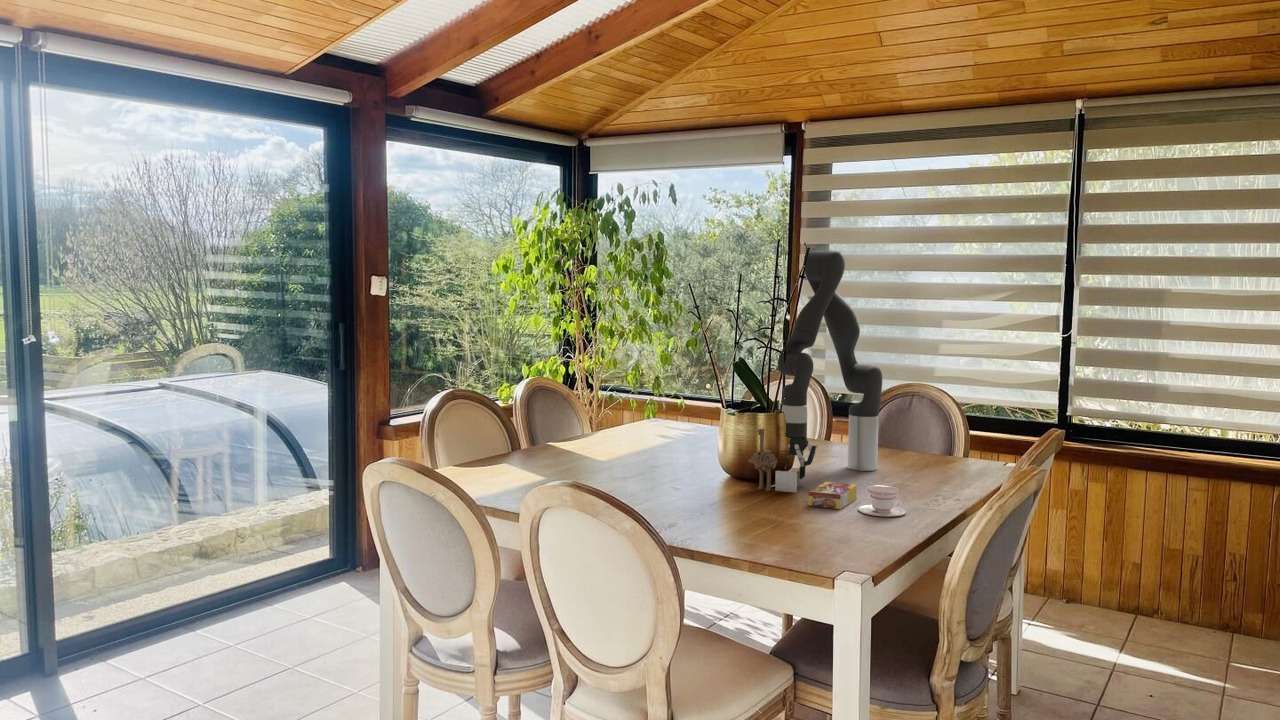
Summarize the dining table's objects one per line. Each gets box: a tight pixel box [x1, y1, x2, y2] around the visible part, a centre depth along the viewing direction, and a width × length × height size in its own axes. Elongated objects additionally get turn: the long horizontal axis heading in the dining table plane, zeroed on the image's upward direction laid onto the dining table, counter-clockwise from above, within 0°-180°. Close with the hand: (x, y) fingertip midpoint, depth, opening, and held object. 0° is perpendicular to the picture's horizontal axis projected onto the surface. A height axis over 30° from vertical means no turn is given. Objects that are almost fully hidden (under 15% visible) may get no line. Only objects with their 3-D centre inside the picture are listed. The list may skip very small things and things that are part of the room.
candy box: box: [808, 481, 858, 510], centre depth 247 cm, size 9×4×15 cm
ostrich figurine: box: [747, 428, 779, 492], centre depth 265 cm, size 17×7×18 cm, turn 139°
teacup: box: [857, 484, 907, 518], centre depth 238 cm, size 12×12×6 cm
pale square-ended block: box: [774, 467, 802, 494], centre depth 267 cm, size 15×6×6 cm, turn 159°
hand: (792, 478), depth 270 cm, fingers open, 4 cm apart
